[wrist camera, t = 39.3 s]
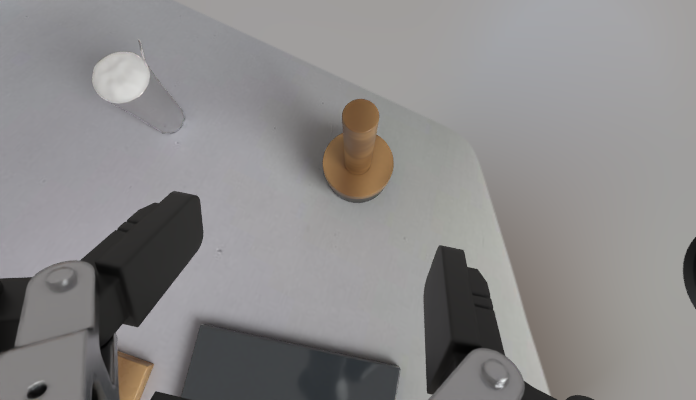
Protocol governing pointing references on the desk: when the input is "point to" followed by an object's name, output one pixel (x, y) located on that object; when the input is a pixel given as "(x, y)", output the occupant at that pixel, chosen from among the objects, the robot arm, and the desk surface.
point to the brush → (358, 155)
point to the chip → (132, 376)
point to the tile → (280, 371)
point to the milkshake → (136, 90)
